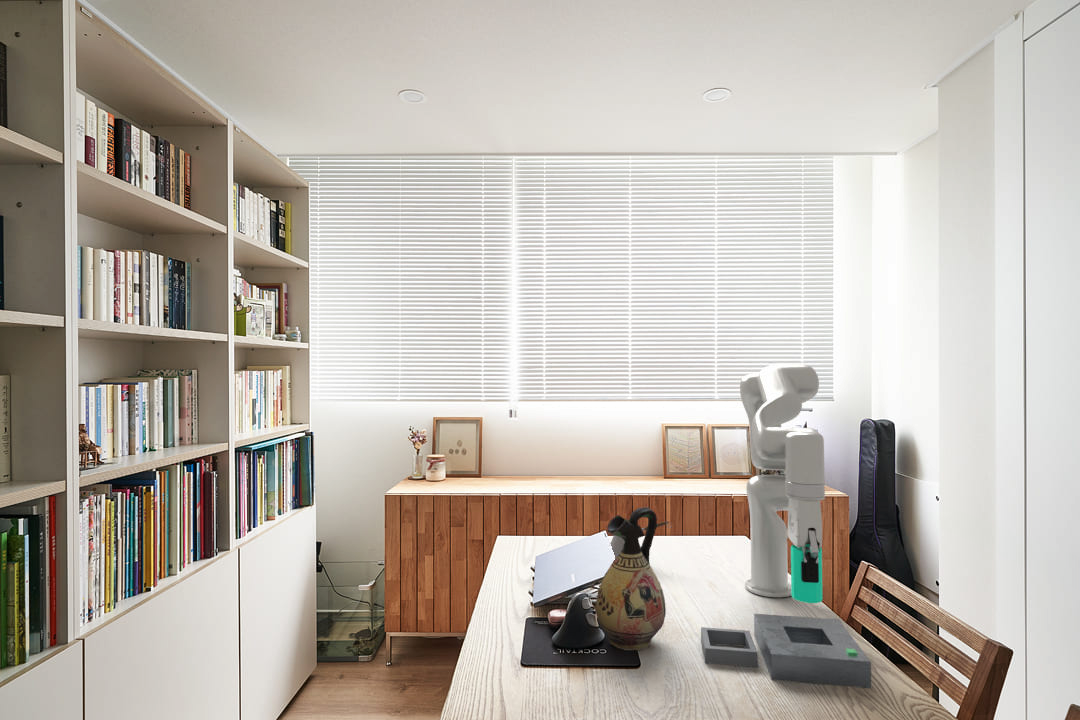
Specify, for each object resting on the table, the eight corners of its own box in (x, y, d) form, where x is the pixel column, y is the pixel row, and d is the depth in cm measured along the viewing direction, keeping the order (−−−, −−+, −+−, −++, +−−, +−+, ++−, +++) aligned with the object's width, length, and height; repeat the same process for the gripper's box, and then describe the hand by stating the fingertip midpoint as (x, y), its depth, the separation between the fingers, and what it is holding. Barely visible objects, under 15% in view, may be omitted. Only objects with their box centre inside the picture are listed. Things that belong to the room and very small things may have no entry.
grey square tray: (701, 640, 134) (700, 627, 134) (749, 644, 132) (749, 630, 132) (705, 662, 124) (705, 648, 124) (757, 667, 122) (757, 652, 122)
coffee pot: (600, 563, 189) (600, 515, 190) (618, 554, 198) (617, 509, 199) (662, 576, 176) (662, 525, 177) (678, 566, 186) (677, 517, 186)
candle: (820, 594, 127) (820, 537, 127) (824, 604, 121) (823, 545, 121) (790, 591, 129) (789, 535, 129) (792, 601, 123) (791, 542, 123)
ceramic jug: (620, 665, 123) (619, 518, 123) (583, 635, 137) (583, 504, 137) (686, 648, 130) (685, 510, 131) (645, 622, 144) (644, 497, 145)
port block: (754, 635, 136) (754, 611, 136) (838, 641, 133) (838, 616, 133) (771, 679, 117) (771, 651, 117) (871, 688, 113) (870, 659, 113)
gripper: (777, 482, 135) (778, 563, 134) (795, 497, 118) (797, 590, 117) (813, 483, 133) (814, 565, 133) (836, 499, 117) (838, 592, 116)
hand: (806, 576), depth 125 cm, fingers closed on candle, 5 cm apart
